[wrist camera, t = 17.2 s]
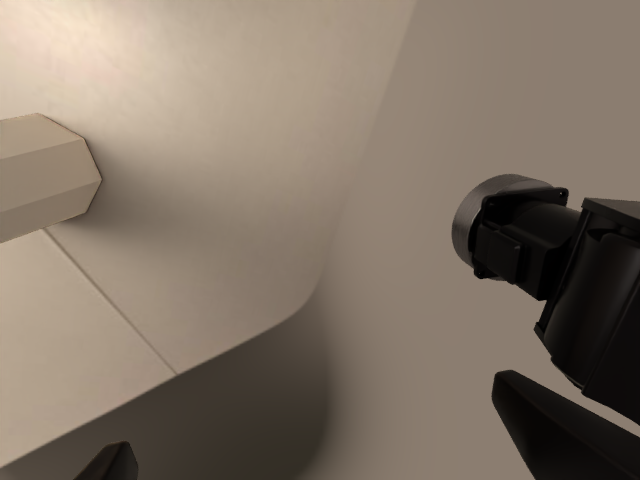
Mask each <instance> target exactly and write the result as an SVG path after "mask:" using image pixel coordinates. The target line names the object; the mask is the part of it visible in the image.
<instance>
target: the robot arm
mask: <svg viewBox="0 0 640 480" xmlns="http://www.w3.org/2000/svg"><path fill="white" fill-rule="evenodd" d="M560 193H561V195H560ZM559 195H560V196H559ZM568 196H569V191H568V189H566V188H563V187H554V188H546V189H537V190H528V191H520V192H511V193H502V194H494V195H487V196H485V197H484V198H483V200H482V202H481V210H480V219H479V226H478V229H477V238H476V247H475V256H474V257H475V263H474V275H475V276H476V277H477V278H479V279H487V278H494V277H501V278H503V279H504V280H506V281H507V282H508V283H510V284H512V285H513V284H515V285H517V286H518V287H519V288H521V289H523V290H524V291H525V292H526V293H528V294H529V295H531V296H532V297H534V298H535V299H537V300H538V301H543V300H547V302H546V304H545V307H544V310H543V312H542V315H541V317H540V320H539V322H536V325H535V327H534V331H535V333H536V334H537V336H538V337H539V339H540V340H541V341H542V343H543V345H544V346H545V347H546V349H547V350H548V352H549V353H550V355H551V361H552V363H553V364H554V365H555V367H557V368H558V369H559V370H560V371H561V372H562V373H563V374H564V375H565V376H566V377H567V379H568V380H569V381H571V382H572V383H573V385H574V386H576V387H577V388H579V389H581V390H582V391H581V393H582V394H583V395H584V396H585V397H587V398H590V399H592V400H594V401H596V402H598V403H601V404H603V405H605V406H608V407H609V408H611V409H613V410H615V411H616V412H618V413H620V414H622V415H623V416H625V417H627V418H629V419H630V420H632V421H633V422H635V423H637V424H638V425H639V426H640V202H637V201H624V200H611V199H598V198H584V201H583V203H582V206H581V207H582V208H583V209H582V212H579V211H576V210H572V209H570V208H567V207H566V205H567V201H568ZM490 200H491V203H490V205H488V202H489V201H490ZM481 271H482V273H481V274H480V272H481ZM492 401H493V404H494V407H495V408H496V410H497V412H498V414H499V416H500V418H501V420H502V421H503V423H504V425H505V427H506V429H507V431H508V432H509V434H510V436H511V438H512V440H513V442H514V443H515V445H516V447H517V449H518V451H519V453H520V455H521V457H522V458H523V460H524V462H525V463H526V465H527V467H528V468H529V470H530V472H531V473H532V475H533V476H534V478H535V480H640V437H638V436H636V435H634V434H632V433H630V432H629V431H627V430H625V429H623V428H621V427H619V426H617V425H615V424H614V423H612V422H610V421H608V420H606V419H604V418H602V417H600V416H599V415H597V414H595V413H593V412H591V411H589V410H587V409H585V408H583V407H582V406H580V405H578V404H576V403H574V402H572V401H570V400H568V399H566V398H565V397H562V396H561V395H559V394H557V393H555V392H553V391H552V390H550V389H548V388H546V387H544V386H542V385H540V384H538V383H537V382H535V381H533V380H531V379H529V378H527V377H525V376H523V375H521V374H520V373H518V372H516V371H513V370H506V371H501V372H497V373H496V374H495V377H494V383H493V390H492ZM137 477H138V464H137V461H136V458H135V456H134V454H133V451H132V449H131V447H130V444H129V442H127V441H119V442H114V443H109V444H107V445H106V446H104V447H103V448H102V449H101V450H100V452H99V453H98V454H97V455H96V456H95V457H94V458H93V459H92V460H91V461H90V462H89V463H88V464H87V465H86V466H85V467H84V468H83V470H82V471H81V472H80V473H79V474H78V475H77V476H76V477H75V478H74V479H73V480H137Z"/></svg>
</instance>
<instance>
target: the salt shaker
mask: <svg viewBox="0 0 640 480" xmlns="http://www.w3.org/2000/svg"><path fill="white" fill-rule="evenodd" d="M101 181H102V178H101V176H100V174H99V171H98V169H97V167H96V165H95V162H94V160H93V158H92V156H91V153H90V151H89V149H88V147H87V144H86V142H85V140H84V138H82V137H80V136H79V135H77V134H75V133H73V132H71V131H70V130H68V129H66V128H64V127H62V126H61V125H59V124H57V123H55V122H53V121H51V120H50V119H48V118H46V117H44V116H42V115H41V114H39V113H35V114H30V115H25V116H20V117H15V118H9V119H4V120H0V243H3V242H6V241H9V240H11V239H14V238H17V237H20V236H22V235H25V234H28V233H31V232H33V231H36V230H39V229H42V228H44V227H47V226H50V225H53V224H55V223H58V222H61V221H64V220H67V219H69V218H72V217H75V216H78V215H80V214H83V213H86V211H87V209H88V207H89V205H90V203H91V201H92V199H93V197H94V195H95V193H96V191H97V189H98V187H99V185H100V183H101Z"/></svg>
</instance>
